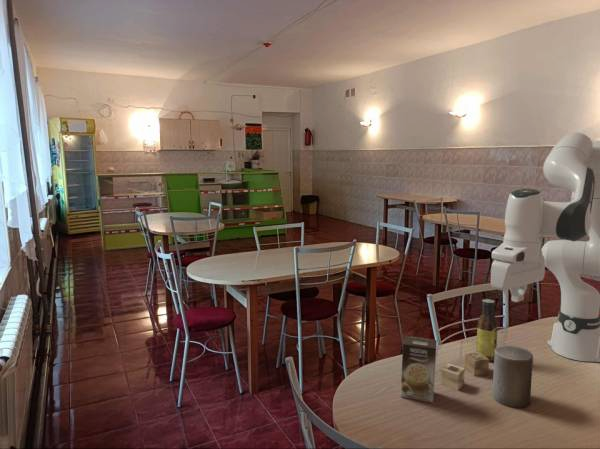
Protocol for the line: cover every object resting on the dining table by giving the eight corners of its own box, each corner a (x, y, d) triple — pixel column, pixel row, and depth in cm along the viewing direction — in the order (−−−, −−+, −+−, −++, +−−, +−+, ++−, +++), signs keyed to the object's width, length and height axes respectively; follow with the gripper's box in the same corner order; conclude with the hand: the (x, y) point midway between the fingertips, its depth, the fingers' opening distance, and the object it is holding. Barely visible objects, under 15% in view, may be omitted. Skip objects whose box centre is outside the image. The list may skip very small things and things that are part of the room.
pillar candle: (538, 404, 119) (542, 352, 117) (510, 411, 116) (514, 357, 114) (510, 387, 128) (513, 338, 126) (483, 393, 125) (486, 343, 123)
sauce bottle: (498, 362, 144) (501, 304, 141) (477, 361, 145) (481, 303, 142) (493, 354, 150) (496, 298, 147) (474, 352, 151) (477, 297, 148)
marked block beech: (447, 378, 134) (448, 362, 133) (463, 384, 130) (464, 367, 130) (440, 385, 130) (441, 368, 129) (457, 390, 127) (458, 374, 126)
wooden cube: (478, 367, 141) (479, 351, 140) (488, 374, 136) (489, 358, 135) (464, 368, 140) (465, 353, 139) (474, 376, 135) (475, 360, 134)
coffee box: (399, 397, 123) (401, 343, 121) (402, 386, 129) (403, 334, 127) (433, 403, 120) (436, 348, 118) (434, 391, 126) (436, 338, 124)
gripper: (530, 244, 124) (526, 291, 126) (487, 252, 113) (484, 304, 115) (553, 248, 119) (549, 297, 121) (510, 257, 108) (506, 310, 110)
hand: (517, 300), depth 118 cm, fingers closed
